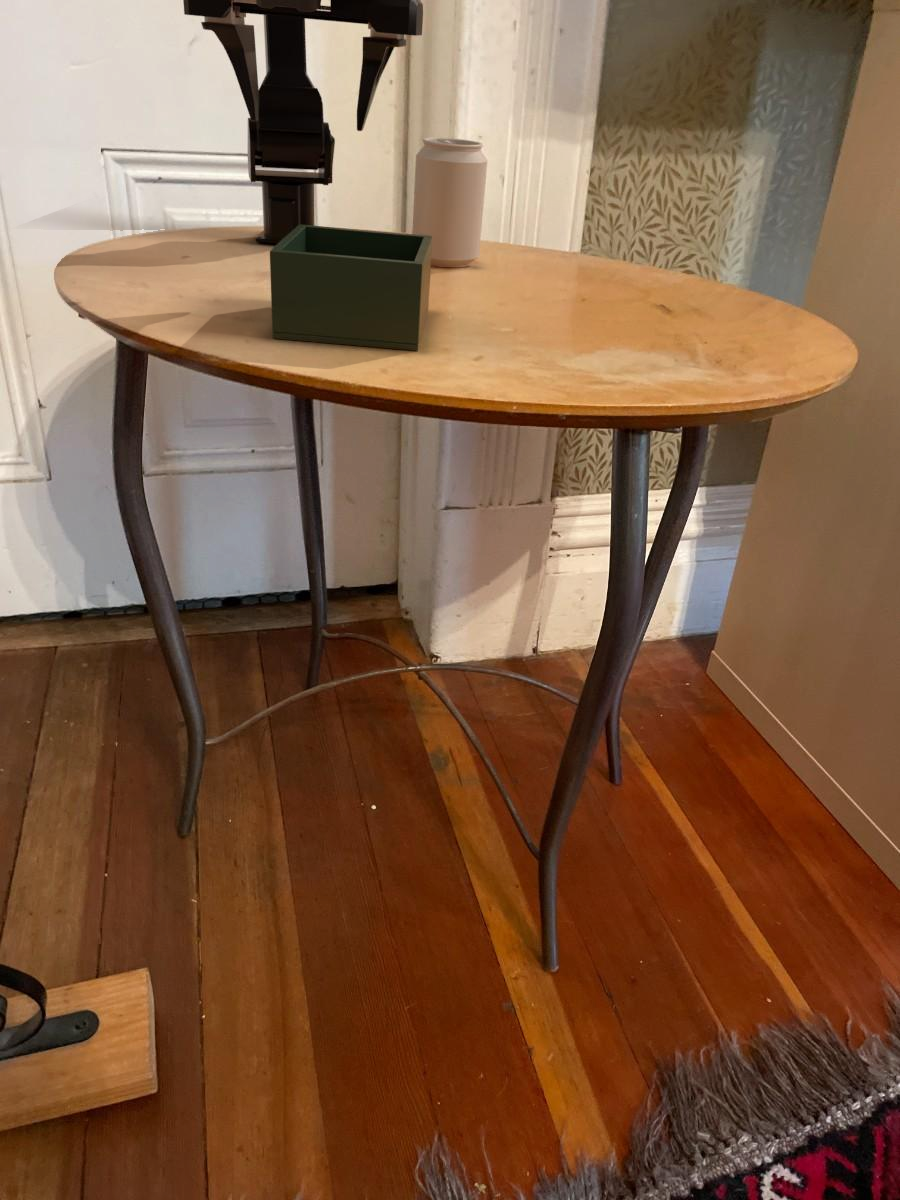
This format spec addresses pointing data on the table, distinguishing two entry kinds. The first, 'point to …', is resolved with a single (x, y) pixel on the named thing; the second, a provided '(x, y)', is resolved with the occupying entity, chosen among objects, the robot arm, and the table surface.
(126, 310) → the table surface
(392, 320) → the bin
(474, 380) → the table surface
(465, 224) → the can
